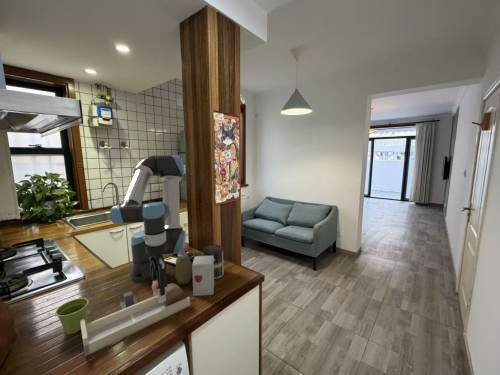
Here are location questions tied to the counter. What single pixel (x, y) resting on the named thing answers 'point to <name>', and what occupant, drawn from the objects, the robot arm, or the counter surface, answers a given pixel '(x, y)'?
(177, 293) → the hump
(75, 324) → the plant pot
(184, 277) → the squeeze bottle
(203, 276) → the supplement box
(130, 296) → the tee
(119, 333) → the tray
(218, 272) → the coffee can
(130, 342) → the counter surface
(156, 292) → the ball
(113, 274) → the counter surface
